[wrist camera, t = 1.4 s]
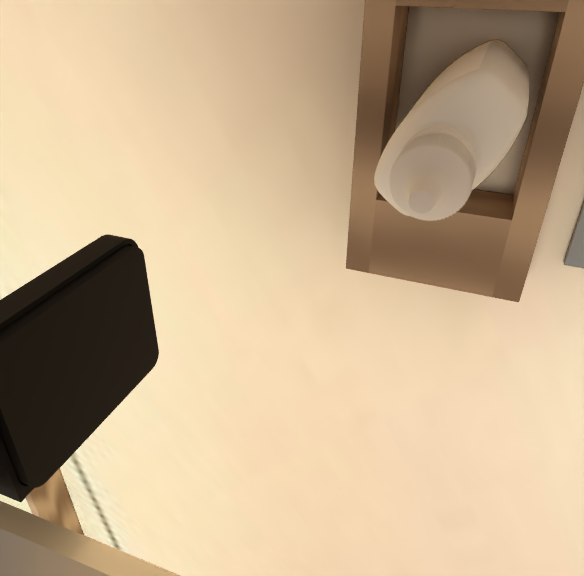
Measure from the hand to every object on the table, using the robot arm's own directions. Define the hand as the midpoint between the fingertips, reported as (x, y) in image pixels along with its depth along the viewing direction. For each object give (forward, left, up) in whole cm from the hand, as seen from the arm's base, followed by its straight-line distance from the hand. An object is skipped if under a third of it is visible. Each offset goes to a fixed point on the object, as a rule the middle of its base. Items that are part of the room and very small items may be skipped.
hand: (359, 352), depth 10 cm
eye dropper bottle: (-1, 0, -18) cm, 18 cm away
